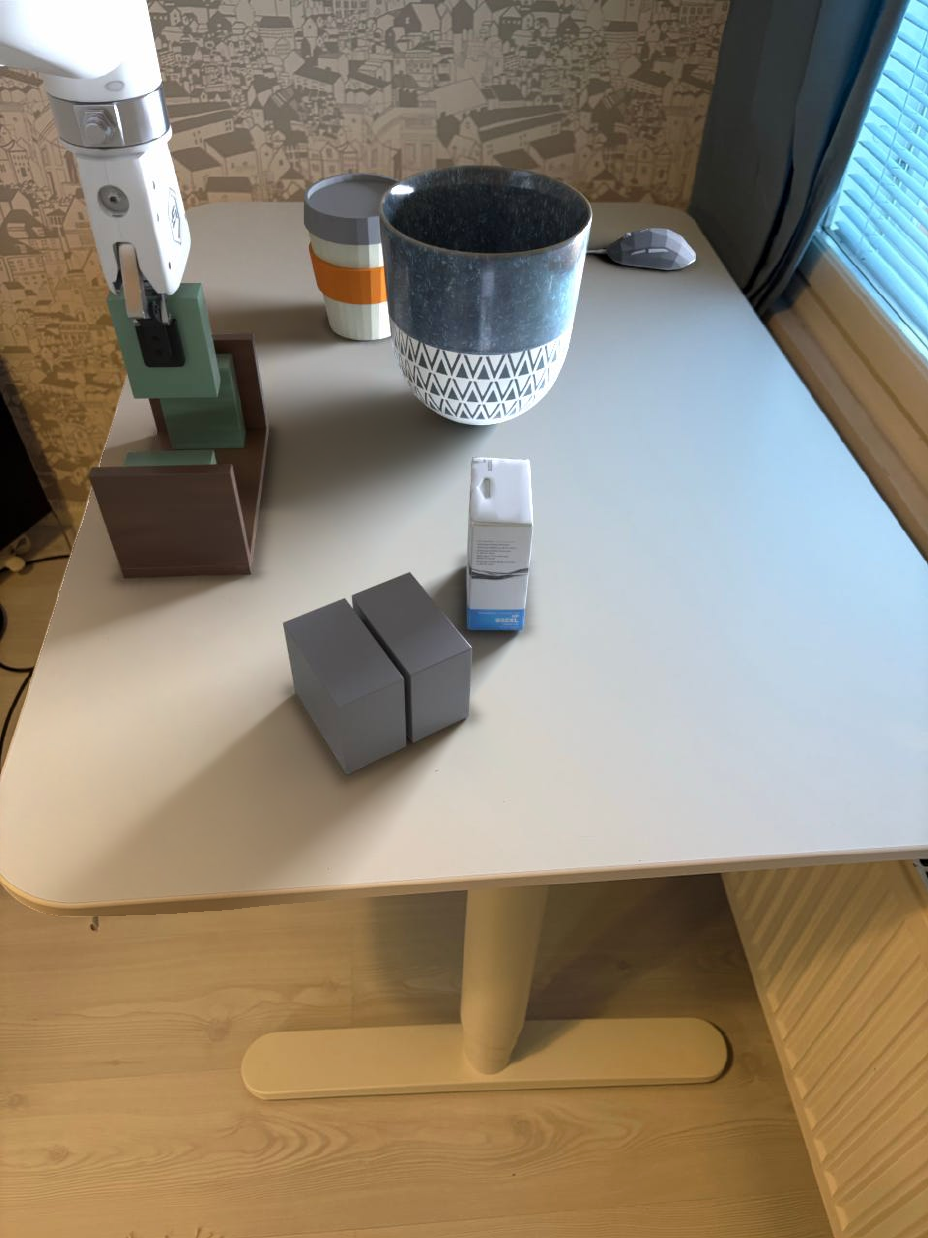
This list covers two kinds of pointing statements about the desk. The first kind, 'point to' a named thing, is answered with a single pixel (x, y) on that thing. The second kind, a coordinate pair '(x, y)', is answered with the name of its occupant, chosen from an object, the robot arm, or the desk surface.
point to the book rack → (193, 478)
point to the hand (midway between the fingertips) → (168, 352)
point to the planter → (482, 285)
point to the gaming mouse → (650, 249)
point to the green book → (196, 341)
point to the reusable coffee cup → (349, 252)
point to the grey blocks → (379, 670)
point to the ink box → (498, 543)
